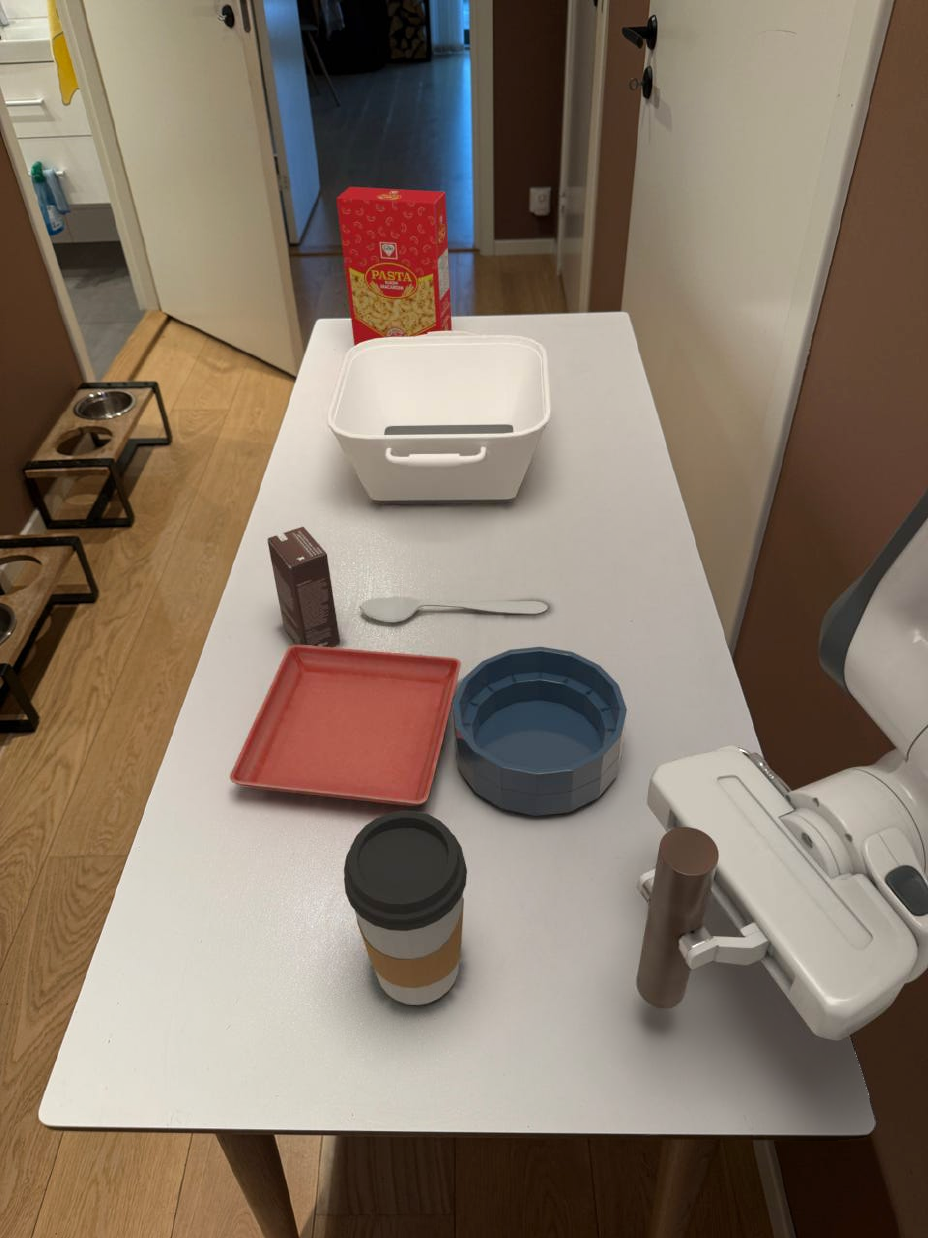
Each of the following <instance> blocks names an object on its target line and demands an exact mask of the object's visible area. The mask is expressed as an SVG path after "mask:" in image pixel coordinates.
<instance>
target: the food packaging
mask: <svg viewBox="0 0 928 1238" xmlns="http://www.w3.org/2000/svg"><path fill="white" fill-rule="evenodd" d="M446 197H447V196H446V191H437V190H435V191H434V190H415V189H397V188H378V187H361V186H349V187H347V188H346V189H345V190H344V191H343V192H342V193H341V194H340V195H339V196H338V197H336V205H337V213H338V222H339V231H340V238H341V247H342V254H343V261H344V271H345V280H346V288H347V297H348V303H349V312H350V320H351V328H352V337H353V344H354V346H356V345H357V344H359V343H361V342H365V341H368V340H372V339H376V338H386V337H415V336H419V335H424V334H428V332H435V331H453V328H452V327H453V326H452V308H451V305H452V304H451V303H452V302H451V286H450V285H451V284H450V283H451V281H450V261H449V243H448V241H449V240H448V220H447V219H448V218H447V198H446ZM354 346H353V347H354Z"/></svg>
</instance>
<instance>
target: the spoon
mask: <svg viewBox="0 0 928 1238" xmlns="http://www.w3.org/2000/svg"><path fill="white" fill-rule="evenodd" d="M423 607H441V608H442V607H444V608H460V609H467V610H473V611H480V612H488V613H493V614H494V613H496V614H509V615H510V614H511V615H513V614H514V615H540V614H543V613H544V612H546V611H547V610H548V608H549V606H548V605H547V604H546V603H544V602H542V601H537V600H521V601H518V600H516V601H514V600H511V601H509V600H508V601H504V600H503V601H501V600H500V601H493V600H492V601H448V600H447V601H446V600H445V601H444V600H431V599H418V598H414V597H410V596H409V597H407V596H389V597H378V598H377V597H376V598H369V599H366V600H364V601H363V602H361V604H360V605H359V609H360V611H361V612H362V613H363V615H366V616H368V617H369V618H371V619H374V620H377V621H381V622H384V623H399V622H402V621H405V620H406V619H409V618H410V617H411V616H413V614H415V612H416V611H418V610H419V609H421V608H423Z"/></svg>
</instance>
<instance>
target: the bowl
mask: <svg viewBox="0 0 928 1238" xmlns="http://www.w3.org/2000/svg"><path fill="white" fill-rule="evenodd" d="M627 713H628V708H627V705H626V702H625V699H624V696H623V694H622V691H621V687H620V685H619V684H618V682H616V681H615V679H613V677H611V675H610V674H609V673H608V672H607V671H606V670H605V669H604V668H603V667H602V665H600V664H598V663H597V662H594V661H592V660H591V659H588V658H586V657H584V656H582V655H580V654H578V653H575V652H573V651H570V650H564V649H557V648H553V647H546V646H534V647H533V646H532V647H522V648H513V649H512V648H511V649H508V650H506V651H503V652H501V653H498V654H496V655H493V656H491V657H489V658H486V659H484V660H482V661H481V662H479V663H478V664H477V665H476V666H475V667H474V668H473V669H472V670H471V671H469V673H467V674H466V675H465V676H464V677H463V678H462V679H461V681H460V683H459V685H458V688H457V691H456V693H455V696H454V697H453V700H452V714H453V716H452V717H453V731H454V733H453V734H454V746H455V752H456V753H455V754H456V761H457V767H458V768H457V769H458V770H459V773H461V775H462V776H463V778H464V779H465V780H466V782H467V783H468V784H469V786H470V787H471V789H472V790H473V791H474V793H476V794H477V795H479V796H480V797H482V798H484V799H485V800H487V801H488V802H490V803H492V804H493V805H495V806H497V807H498V808H500V809H502V810H506V811H510V812H515V813H521V814H525V815H530V816H535V817H536V816H537V817H538V816H546V815H555V814H563V813H571V812H573V811H575V810H577V809H578V808H580V807H582V806H585V805H587V804H588V803H590V802H593V801H595V800H597V799H598V798H600V796H601V795H602V794H603V793H604V792H605V791H606V789H607V788H609V786H610V784H611V783H612V782H613V781H614V780H615V779H616V777H617V776H618V772H619V768H620V762H621V757H622V753H623V746H624V738H625V737H624V736H625V728H626V722H627V721H626V720H627Z"/></svg>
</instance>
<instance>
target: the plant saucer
mask: <svg viewBox="0 0 928 1238" xmlns="http://www.w3.org/2000/svg"><path fill="white" fill-rule="evenodd" d="M461 666H462V662H461V661H460V660H459V659H458V658H455V657H448V656H436V655H425V654H413V653H400V652H391V651H377V650H365V649H353V648H342V647H333V646H332V647H320V646H311V645H296V644H293V645H289V646H288V647H287V649H286V651H285V653H284V656H283V657H282V660H281V661H280V664H279V666H278V668H277V671H276V673H275V674H274V677H273V680H272V681H271V684H270V685H269V688H268V690H267V693H266V695H265V697H264V700H263V701H262V703H261V706H260V708H259V711H258V712H257V714H256V717H255V718H254V722H253V723H252V726H251V728H250V730H249V732H248V734H247V737H246V739H245V740H244V743H243V745H242V747H241V750H240V752H239V754H238V756H237V758H236V761H235V762H234V765H233V768H232V769H231V772H230V773H229V780H230V782H231V783H232V784H235V785H238V786H240V787H241V786H242V787H246V788H250V789H257V790H263V791H264V790H265V791H273V792H282V793H293V794H302V795H311V796H319V797H320V796H321V797H328V798H336V799H343V800H344V799H346V800H354V801H355V800H356V801H363V802H373V803H381V804H389V805H398V806H407V807H408V806H409V807H411V806H415V807H416V806H419V805H422V804H424V803H425V802H426V801H428V799H429V796H430V792H431V788H432V784H433V781H434V777H435V773H436V768H437V765H438V761H439V757H440V753H441V748H442V745H443V741H444V736H445V731H446V728H447V724H448V719H449V716H450V711H451V708H452V707H451V706H452V704H453V700H454V695H455V691H456V686H457V682H458V678H459V674H460V671H461Z"/></svg>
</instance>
